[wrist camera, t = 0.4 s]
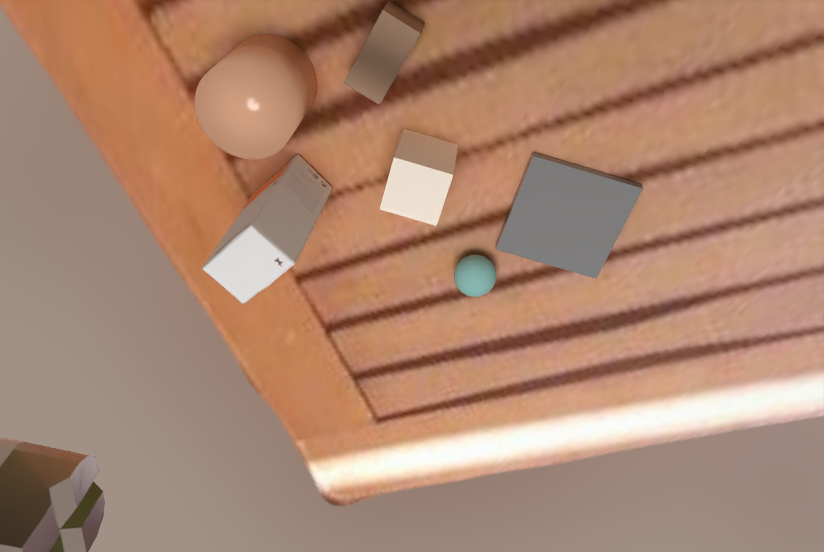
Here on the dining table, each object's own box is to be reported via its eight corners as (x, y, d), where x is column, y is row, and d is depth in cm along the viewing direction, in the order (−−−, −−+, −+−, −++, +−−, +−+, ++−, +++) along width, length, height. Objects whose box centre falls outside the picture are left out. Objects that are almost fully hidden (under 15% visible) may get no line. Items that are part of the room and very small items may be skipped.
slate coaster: (532, 151, 55) (533, 155, 54) (641, 184, 55) (642, 188, 54) (496, 244, 60) (495, 249, 59) (595, 273, 60) (596, 278, 59)
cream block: (403, 128, 55) (393, 157, 50) (458, 144, 55) (453, 174, 51) (390, 177, 57) (379, 209, 53) (442, 192, 58) (436, 225, 53)
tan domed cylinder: (233, 21, 52) (199, 49, 46) (324, 49, 52) (301, 79, 46) (224, 108, 56) (191, 143, 50) (308, 133, 56) (285, 170, 50)
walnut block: (389, -1, 50) (382, 9, 47) (425, 22, 50) (420, 33, 48) (351, 70, 53) (343, 83, 50) (385, 90, 53) (379, 104, 51)
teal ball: (462, 241, 60) (459, 264, 57) (502, 253, 60) (501, 276, 57) (450, 274, 62) (447, 298, 59) (489, 285, 62) (487, 309, 59)
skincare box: (297, 150, 57) (252, 223, 47) (334, 187, 58) (298, 264, 49) (250, 192, 60) (199, 269, 50) (287, 226, 61) (244, 307, 51)
